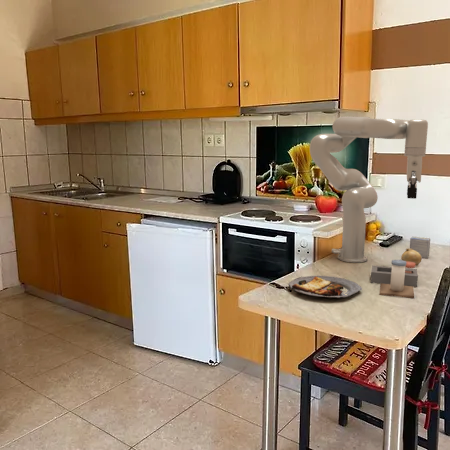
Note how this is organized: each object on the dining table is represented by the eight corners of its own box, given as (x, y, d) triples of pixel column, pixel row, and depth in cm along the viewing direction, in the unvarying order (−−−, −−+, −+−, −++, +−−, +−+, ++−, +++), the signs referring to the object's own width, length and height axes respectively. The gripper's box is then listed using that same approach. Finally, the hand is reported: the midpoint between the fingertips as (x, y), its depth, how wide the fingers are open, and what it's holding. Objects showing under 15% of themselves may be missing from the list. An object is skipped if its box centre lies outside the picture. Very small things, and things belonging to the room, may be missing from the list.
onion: (417, 262, 202) (419, 246, 201) (423, 267, 195) (424, 251, 193) (398, 262, 203) (399, 246, 202) (403, 267, 195) (404, 250, 194)
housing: (370, 282, 174) (371, 272, 173) (371, 275, 183) (372, 265, 183) (417, 286, 169) (417, 276, 168) (415, 279, 178) (416, 269, 177)
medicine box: (429, 256, 212) (430, 238, 211) (427, 258, 209) (429, 239, 207) (410, 254, 216) (412, 236, 215) (408, 256, 213) (410, 237, 211)
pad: (379, 294, 160) (379, 292, 160) (380, 285, 171) (380, 283, 170) (414, 298, 157) (414, 296, 157) (412, 288, 167) (413, 286, 167)
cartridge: (389, 290, 162) (391, 262, 161) (389, 286, 167) (391, 259, 165) (404, 292, 161) (406, 263, 159) (403, 288, 165) (406, 260, 163)
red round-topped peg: (401, 281, 173) (402, 263, 172) (401, 277, 177) (402, 260, 176) (414, 282, 172) (415, 264, 170) (413, 279, 176) (415, 261, 174)
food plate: (335, 307, 148) (336, 296, 148) (275, 292, 164) (276, 282, 163) (371, 290, 166) (371, 281, 166) (314, 278, 182) (314, 269, 181)
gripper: (426, 153, 171) (422, 200, 174) (424, 152, 187) (420, 194, 190) (404, 153, 174) (401, 199, 177) (404, 151, 190) (401, 193, 193)
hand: (411, 196), depth 184 cm, fingers open, 9 cm apart
